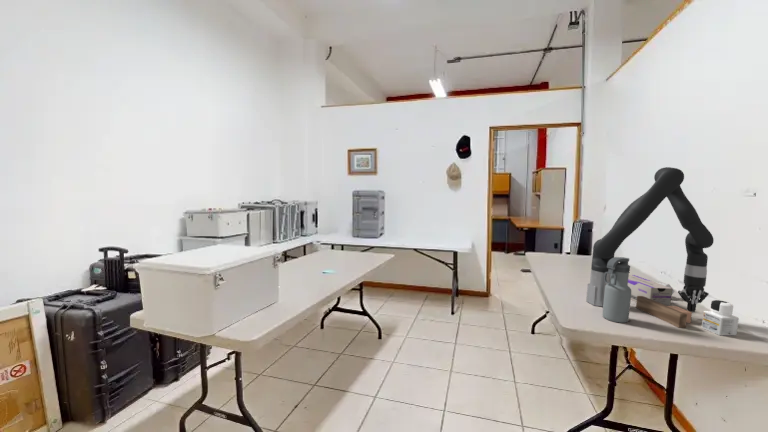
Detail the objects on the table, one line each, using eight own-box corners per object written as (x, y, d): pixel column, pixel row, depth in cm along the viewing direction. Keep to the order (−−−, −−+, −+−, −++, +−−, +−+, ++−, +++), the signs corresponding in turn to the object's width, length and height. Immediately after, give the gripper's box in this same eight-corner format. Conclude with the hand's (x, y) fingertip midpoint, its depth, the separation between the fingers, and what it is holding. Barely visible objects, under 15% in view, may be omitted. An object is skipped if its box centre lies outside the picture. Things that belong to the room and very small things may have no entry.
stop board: (678, 327, 147) (680, 314, 146) (635, 307, 171) (637, 295, 170) (685, 327, 147) (687, 314, 146) (641, 307, 171) (643, 296, 170)
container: (700, 327, 148) (704, 298, 146) (717, 327, 148) (721, 298, 147) (719, 335, 140) (724, 305, 139) (736, 335, 141) (741, 305, 140)
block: (673, 322, 153) (674, 312, 152) (658, 315, 161) (659, 305, 160) (690, 323, 153) (691, 312, 153) (674, 316, 161) (676, 306, 161)
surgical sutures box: (614, 292, 195) (616, 274, 194) (632, 293, 196) (634, 275, 195) (649, 308, 170) (651, 287, 169) (669, 309, 171) (672, 288, 170)
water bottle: (613, 323, 148) (620, 260, 146) (596, 315, 158) (602, 255, 155) (633, 323, 150) (640, 260, 147) (615, 314, 160) (621, 255, 157)
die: (670, 297, 192) (659, 281, 195) (681, 294, 184) (669, 278, 188) (657, 302, 191) (646, 286, 195) (668, 299, 183) (656, 283, 187)
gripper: (688, 276, 153) (684, 314, 155) (717, 277, 153) (712, 314, 155) (674, 272, 161) (670, 308, 162) (701, 273, 161) (697, 308, 162)
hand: (691, 311), depth 159 cm, fingers closed
